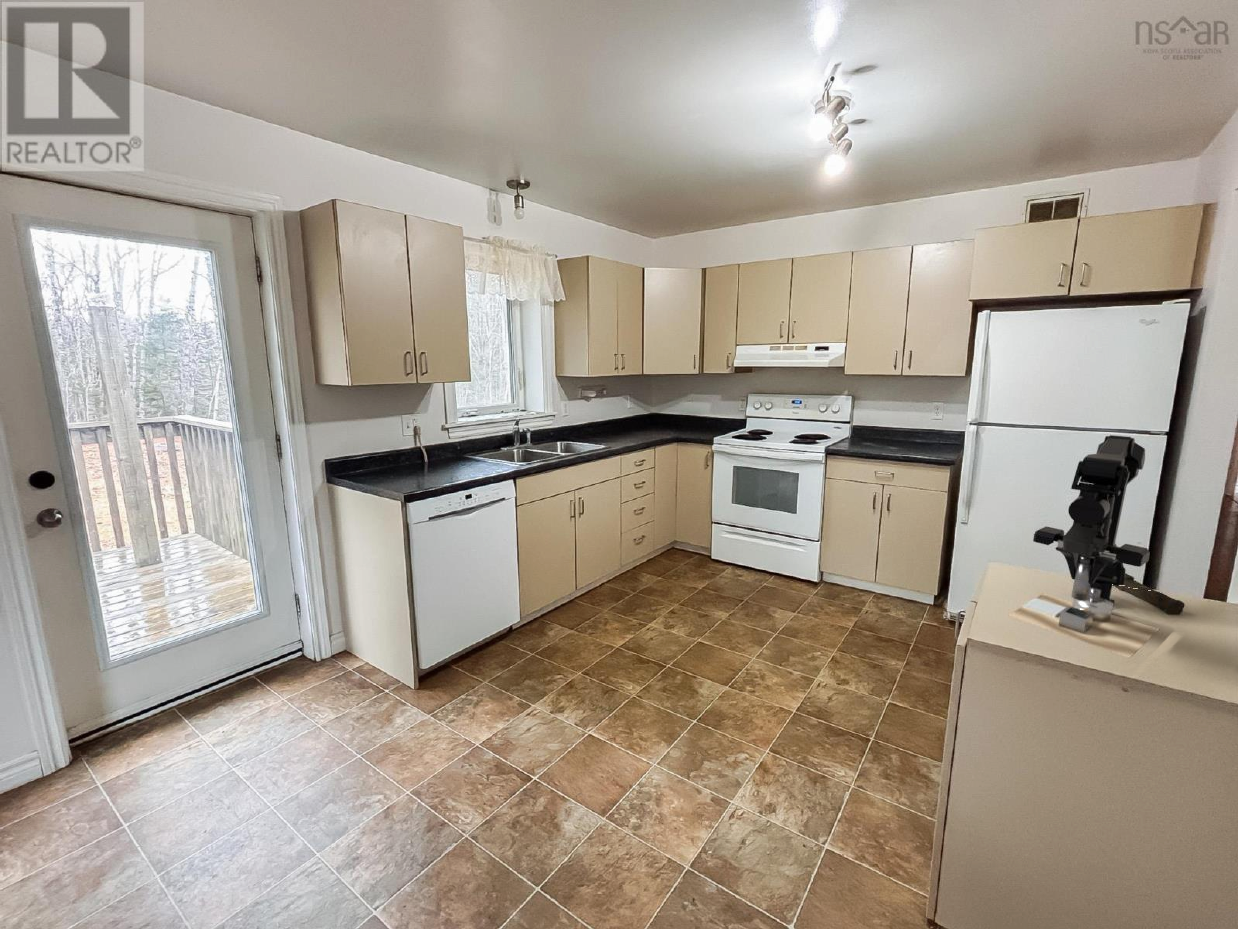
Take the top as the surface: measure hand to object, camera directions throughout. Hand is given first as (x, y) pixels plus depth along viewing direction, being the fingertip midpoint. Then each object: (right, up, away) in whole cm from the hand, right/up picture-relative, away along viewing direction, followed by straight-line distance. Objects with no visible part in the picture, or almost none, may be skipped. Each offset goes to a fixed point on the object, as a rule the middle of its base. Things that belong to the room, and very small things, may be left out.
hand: (1082, 581), depth 121 cm
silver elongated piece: (+5, -10, +5) cm, 12 cm away
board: (+4, -12, +5) cm, 13 cm away
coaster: (0, -9, +11) cm, 14 cm away
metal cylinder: (0, -4, +1) cm, 4 cm away
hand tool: (+30, -9, +19) cm, 37 cm away
